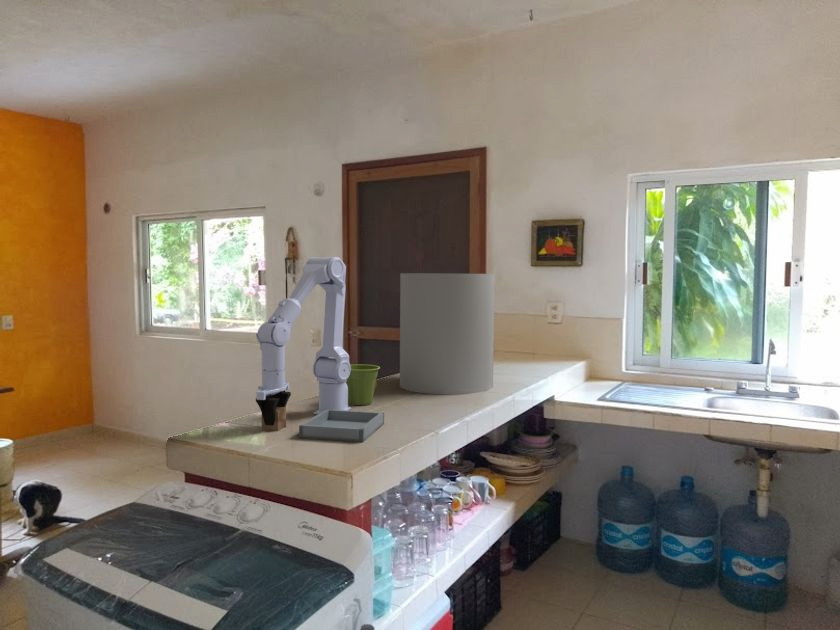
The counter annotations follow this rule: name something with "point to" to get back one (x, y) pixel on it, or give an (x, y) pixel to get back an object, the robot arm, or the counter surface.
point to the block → (276, 420)
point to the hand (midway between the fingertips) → (273, 422)
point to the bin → (342, 425)
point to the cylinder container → (446, 332)
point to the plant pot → (361, 383)
